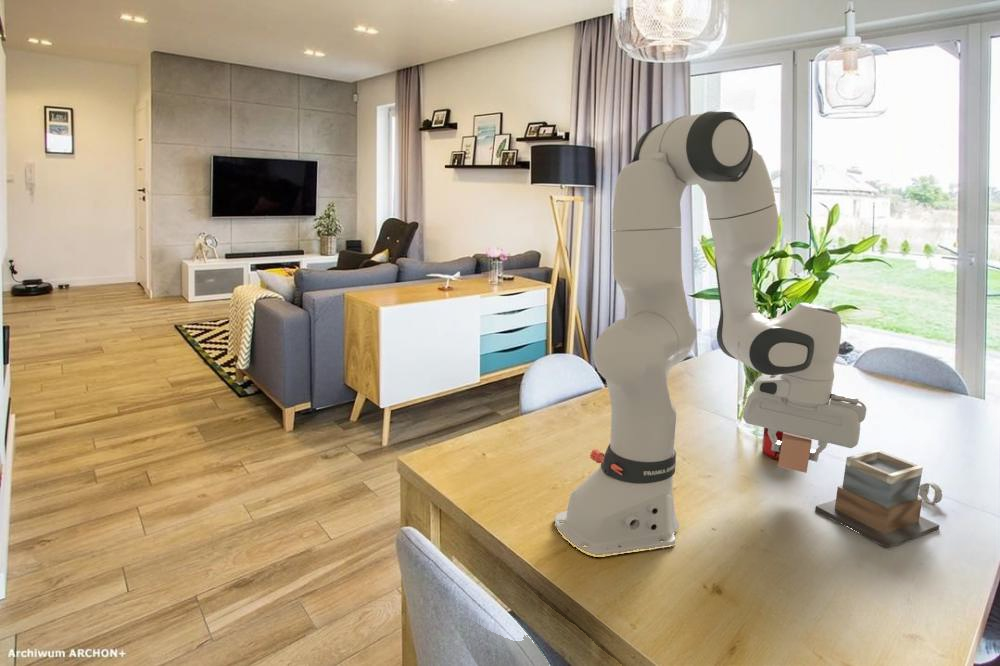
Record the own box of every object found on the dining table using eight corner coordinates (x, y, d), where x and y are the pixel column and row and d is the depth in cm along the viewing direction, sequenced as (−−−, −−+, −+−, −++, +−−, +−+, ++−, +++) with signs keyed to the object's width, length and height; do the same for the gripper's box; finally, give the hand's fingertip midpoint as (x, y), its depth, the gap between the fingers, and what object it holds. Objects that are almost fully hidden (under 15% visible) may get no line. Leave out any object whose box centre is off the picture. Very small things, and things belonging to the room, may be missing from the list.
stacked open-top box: (888, 549, 102) (898, 486, 99) (815, 510, 114) (822, 454, 112) (938, 530, 108) (949, 470, 105) (863, 495, 120) (871, 441, 117)
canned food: (777, 463, 134) (783, 417, 132) (754, 449, 142) (758, 405, 139) (806, 459, 136) (812, 413, 134) (781, 445, 144) (786, 402, 141)
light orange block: (778, 466, 117) (782, 438, 116) (779, 457, 122) (783, 429, 120) (806, 472, 115) (811, 443, 114) (806, 462, 120) (811, 434, 118)
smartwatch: (942, 506, 116) (945, 487, 115) (933, 507, 115) (936, 488, 114) (925, 497, 119) (928, 479, 118) (916, 499, 119) (919, 480, 118)
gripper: (869, 396, 111) (856, 464, 115) (753, 373, 123) (744, 436, 126) (866, 405, 106) (852, 476, 110) (745, 381, 118) (736, 446, 121)
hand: (794, 455), depth 118 cm, fingers closed on light orange block, 5 cm apart
